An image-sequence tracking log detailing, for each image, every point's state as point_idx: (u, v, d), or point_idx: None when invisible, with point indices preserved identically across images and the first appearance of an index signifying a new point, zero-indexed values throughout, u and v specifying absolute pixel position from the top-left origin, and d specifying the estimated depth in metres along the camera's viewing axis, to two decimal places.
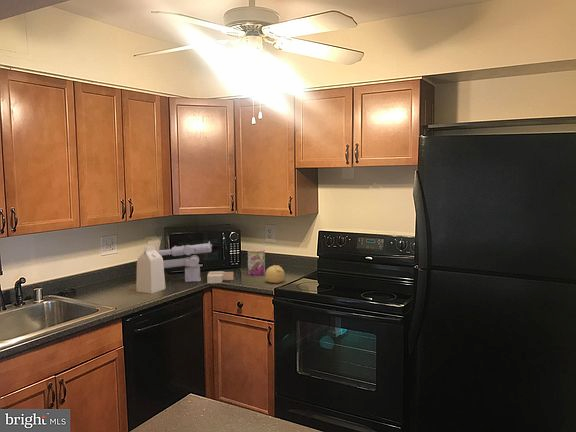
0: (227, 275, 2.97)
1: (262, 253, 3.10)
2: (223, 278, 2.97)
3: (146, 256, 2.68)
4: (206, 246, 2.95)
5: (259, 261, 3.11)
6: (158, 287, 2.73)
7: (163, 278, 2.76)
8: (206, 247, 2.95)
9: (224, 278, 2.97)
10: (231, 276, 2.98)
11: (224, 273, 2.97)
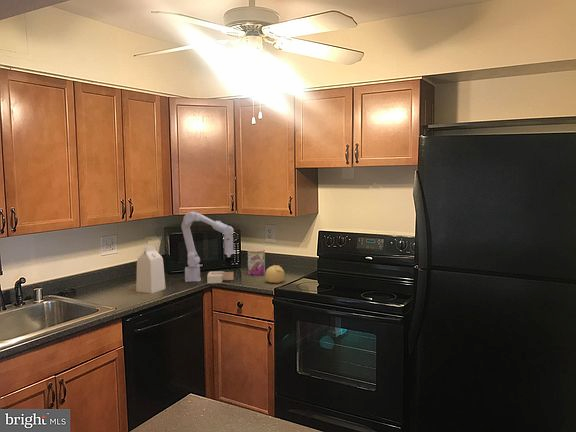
0: (227, 275, 2.97)
1: (262, 253, 3.10)
2: (223, 278, 2.97)
3: (146, 256, 2.68)
4: (230, 250, 2.94)
5: (259, 261, 3.11)
6: (158, 287, 2.73)
7: (163, 278, 2.76)
8: (230, 250, 2.94)
9: (224, 278, 2.97)
10: (231, 276, 2.98)
11: (224, 273, 2.97)
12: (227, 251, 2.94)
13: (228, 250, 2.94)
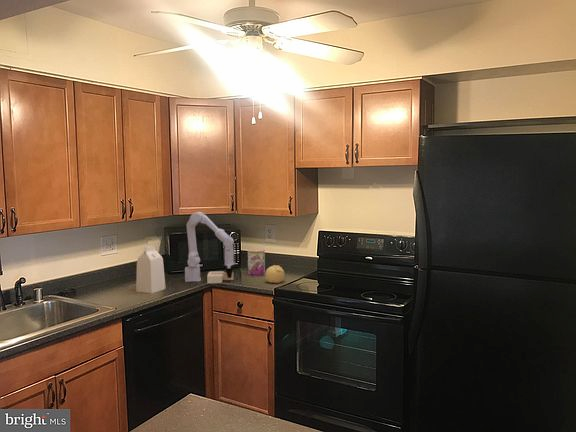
0: None
1: (262, 253, 3.10)
2: (223, 278, 2.97)
3: (146, 256, 2.68)
4: (231, 261, 2.95)
5: (259, 261, 3.11)
6: (158, 286, 2.73)
7: (163, 278, 2.76)
8: (230, 261, 2.94)
9: (224, 278, 2.97)
10: (231, 276, 2.98)
11: (224, 273, 2.97)
12: (227, 262, 2.94)
13: (228, 261, 2.94)
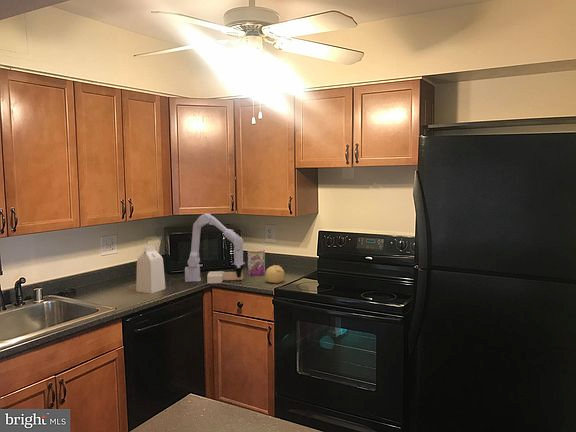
0: (236, 275, 2.98)
1: (262, 253, 3.10)
2: (232, 278, 2.98)
3: (146, 256, 2.68)
4: (240, 261, 2.95)
5: (259, 261, 3.11)
6: (158, 287, 2.73)
7: (163, 278, 2.76)
8: (239, 261, 2.95)
9: (233, 278, 2.98)
10: None
11: (233, 273, 2.98)
12: (237, 262, 2.95)
13: (238, 261, 2.95)
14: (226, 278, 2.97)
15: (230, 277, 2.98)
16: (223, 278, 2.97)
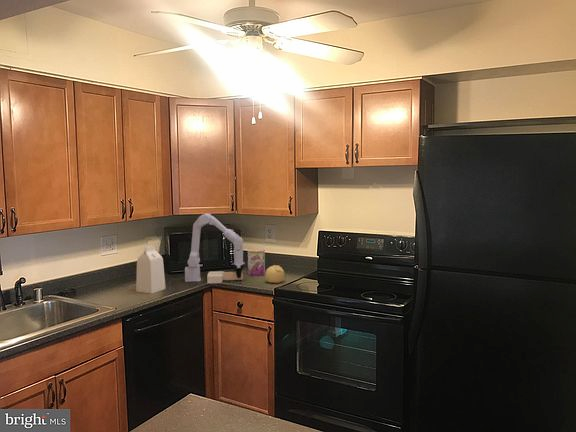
0: (236, 275, 2.98)
1: (262, 253, 3.10)
2: (232, 278, 2.98)
3: (146, 256, 2.68)
4: (240, 261, 2.95)
5: (259, 261, 3.11)
6: (158, 286, 2.73)
7: (163, 278, 2.76)
8: (239, 261, 2.95)
9: (233, 278, 2.98)
10: None
11: (233, 273, 2.98)
12: (237, 262, 2.95)
13: (238, 261, 2.95)
14: (226, 278, 2.97)
15: (230, 277, 2.98)
16: (223, 278, 2.97)
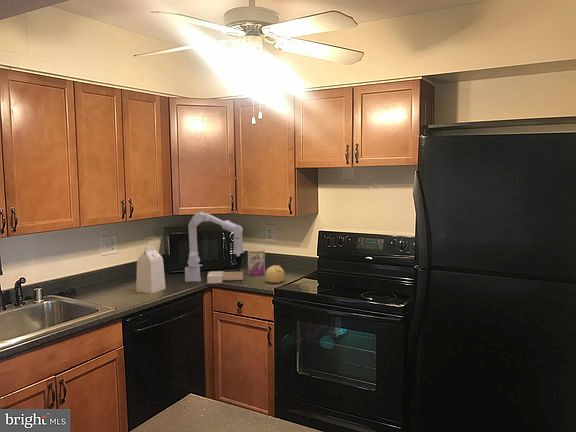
0: (236, 275, 2.98)
1: (262, 253, 3.10)
2: (232, 278, 2.98)
3: (146, 256, 2.68)
4: (240, 249, 2.95)
5: (259, 261, 3.11)
6: (158, 287, 2.73)
7: (163, 278, 2.76)
8: (239, 249, 2.94)
9: (233, 278, 2.98)
10: (240, 276, 2.98)
11: (233, 273, 2.98)
12: (236, 250, 2.94)
13: (237, 249, 2.94)
14: (226, 278, 2.97)
15: (230, 277, 2.98)
16: (223, 278, 2.97)
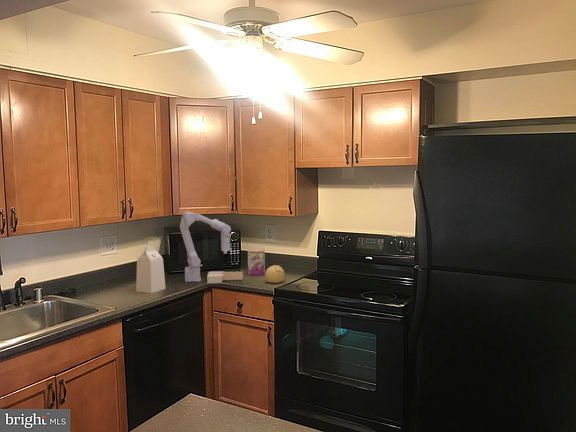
0: (236, 275, 2.98)
1: (262, 253, 3.10)
2: (232, 278, 2.98)
3: (146, 256, 2.68)
4: (227, 247, 3.05)
5: (259, 261, 3.11)
6: (158, 287, 2.73)
7: (163, 278, 2.76)
8: (226, 247, 3.04)
9: (233, 278, 2.98)
10: (240, 276, 2.98)
11: (233, 273, 2.98)
12: (224, 248, 3.04)
13: (225, 247, 3.04)
14: (226, 278, 2.97)
15: (230, 277, 2.98)
16: (223, 278, 2.97)
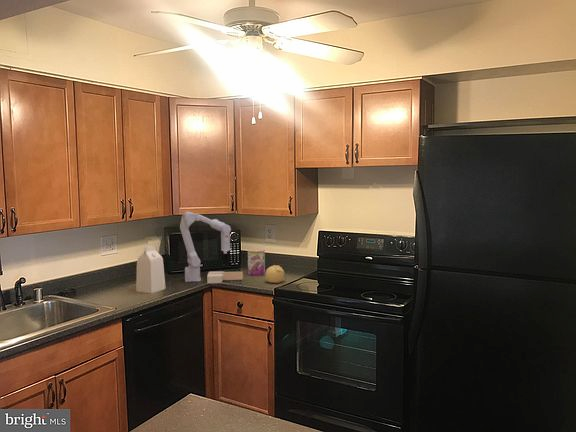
0: (236, 275, 2.98)
1: (262, 253, 3.10)
2: (232, 278, 2.98)
3: (146, 256, 2.68)
4: (227, 247, 3.05)
5: (259, 261, 3.11)
6: (158, 286, 2.73)
7: (163, 278, 2.76)
8: (226, 247, 3.04)
9: (233, 278, 2.98)
10: (240, 276, 2.98)
11: (233, 273, 2.98)
12: (224, 248, 3.04)
13: (225, 247, 3.04)
14: (226, 278, 2.97)
15: (230, 277, 2.98)
16: (223, 278, 2.97)
